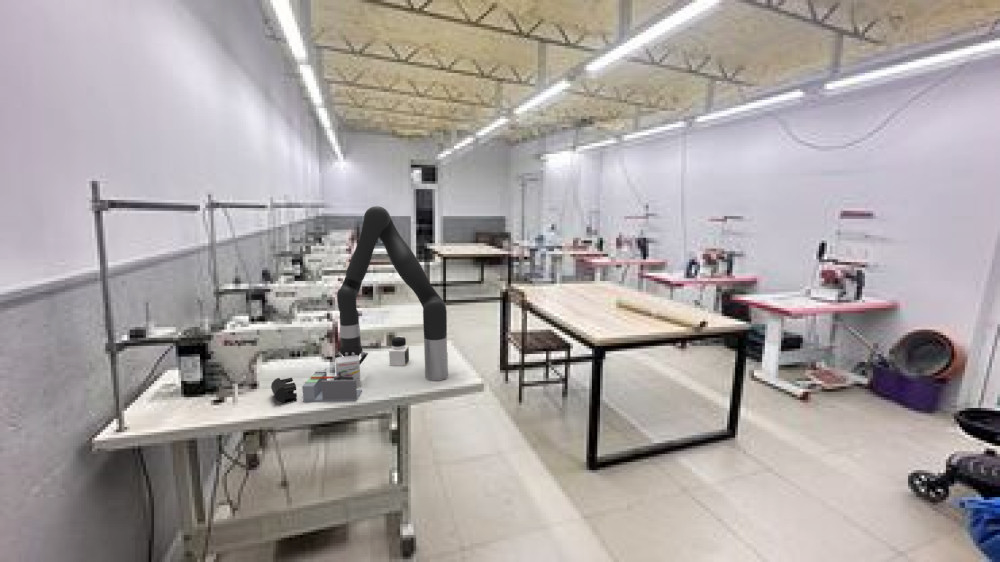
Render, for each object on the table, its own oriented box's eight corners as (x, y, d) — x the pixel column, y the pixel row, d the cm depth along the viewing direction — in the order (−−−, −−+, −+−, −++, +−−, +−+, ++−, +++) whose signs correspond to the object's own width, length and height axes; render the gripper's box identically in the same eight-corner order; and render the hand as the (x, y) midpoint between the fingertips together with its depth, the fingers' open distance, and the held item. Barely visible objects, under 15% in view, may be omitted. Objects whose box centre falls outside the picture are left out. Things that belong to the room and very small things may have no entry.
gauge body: (366, 385, 170) (365, 366, 169) (356, 401, 157) (355, 380, 155) (317, 386, 169) (315, 367, 168) (303, 402, 156) (301, 381, 154)
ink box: (338, 391, 165) (336, 362, 162) (336, 385, 169) (335, 357, 166) (361, 387, 169) (359, 359, 166) (359, 381, 173) (358, 354, 170)
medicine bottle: (405, 366, 190) (404, 340, 188) (389, 366, 190) (388, 340, 188) (409, 360, 197) (408, 335, 195) (393, 360, 197) (392, 335, 195)
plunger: (354, 389, 164) (353, 374, 163) (351, 393, 161) (350, 377, 160) (314, 390, 164) (312, 374, 162) (310, 394, 160) (309, 378, 159)
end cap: (271, 396, 161) (270, 379, 159) (292, 391, 165) (291, 374, 163) (275, 406, 153) (274, 388, 151) (297, 401, 157) (296, 384, 155)
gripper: (369, 331, 174) (371, 372, 177) (336, 332, 173) (338, 372, 176) (364, 337, 166) (367, 379, 170) (330, 337, 166) (332, 380, 169)
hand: (352, 376), depth 173 cm, fingers closed
